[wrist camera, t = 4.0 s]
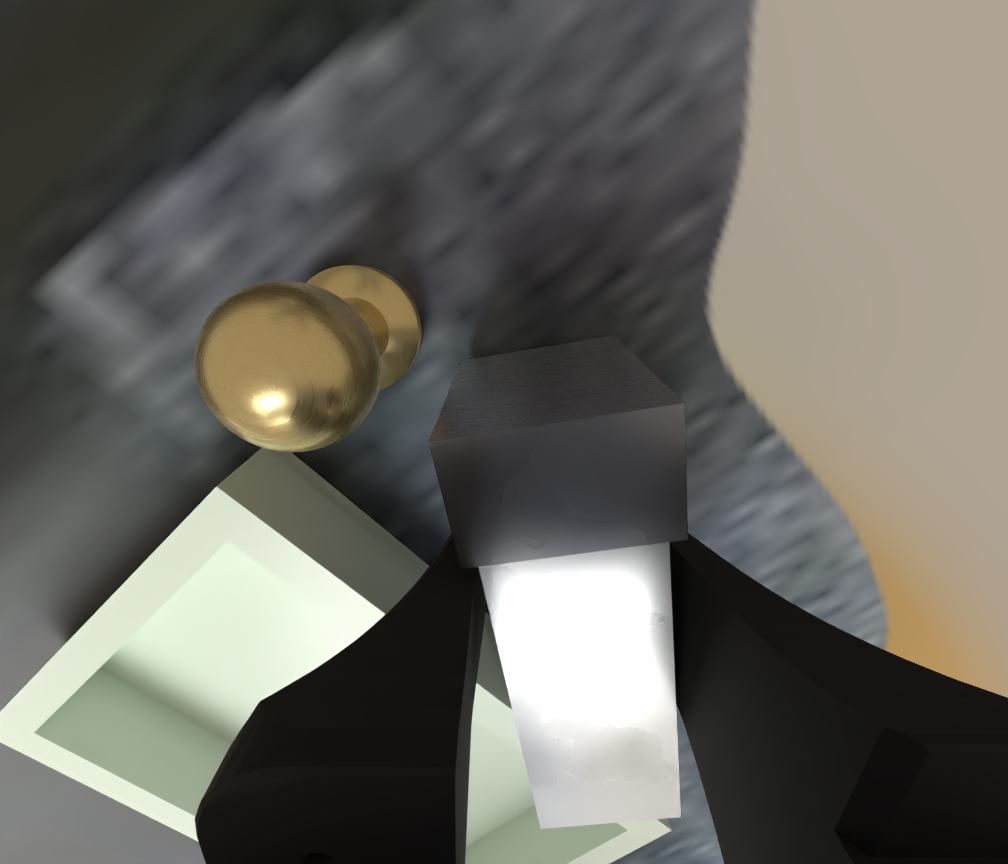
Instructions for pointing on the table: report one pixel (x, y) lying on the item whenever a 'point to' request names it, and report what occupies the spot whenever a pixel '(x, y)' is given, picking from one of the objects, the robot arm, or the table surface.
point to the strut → (575, 564)
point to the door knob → (306, 355)
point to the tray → (262, 663)
